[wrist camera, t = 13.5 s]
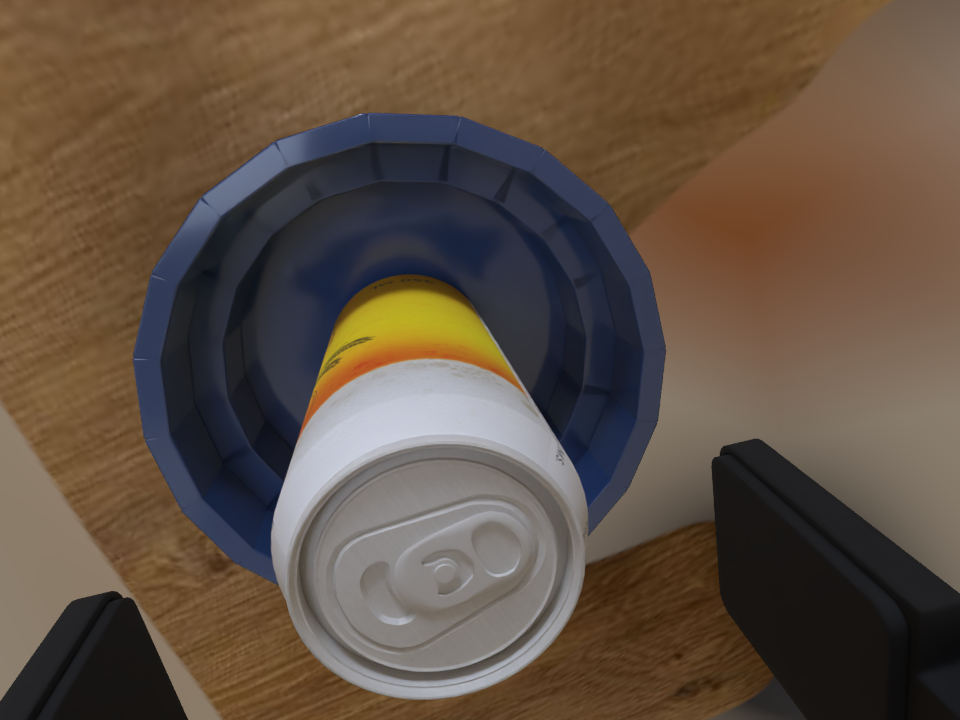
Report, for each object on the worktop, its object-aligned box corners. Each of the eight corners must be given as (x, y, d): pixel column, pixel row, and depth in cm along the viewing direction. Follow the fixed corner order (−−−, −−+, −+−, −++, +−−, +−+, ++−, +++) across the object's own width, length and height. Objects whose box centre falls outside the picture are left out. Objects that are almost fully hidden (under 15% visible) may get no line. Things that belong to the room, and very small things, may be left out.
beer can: (303, 310, 24) (187, 514, 10) (449, 245, 24) (536, 358, 10) (373, 440, 26) (358, 765, 12) (507, 380, 26) (649, 633, 12)
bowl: (252, 55, 22) (205, 16, 16) (666, 212, 26) (745, 226, 20) (152, 471, 26) (87, 558, 20) (525, 556, 30) (558, 649, 24)
